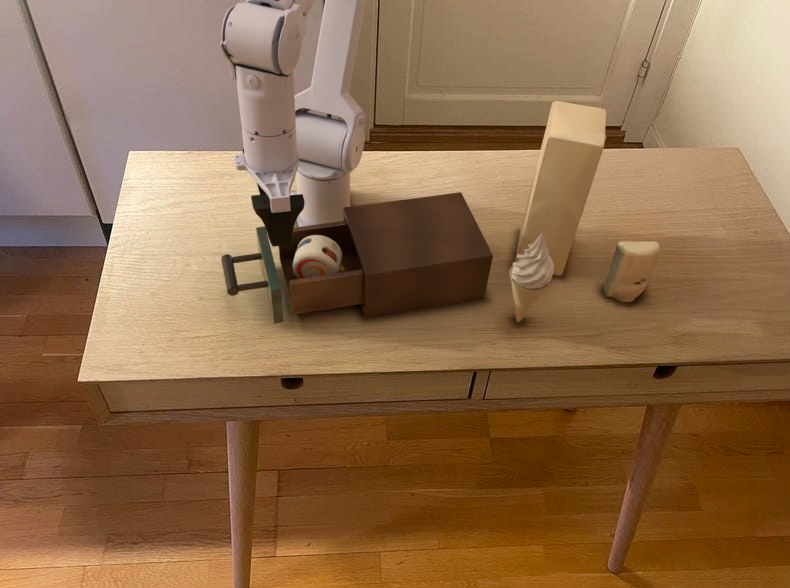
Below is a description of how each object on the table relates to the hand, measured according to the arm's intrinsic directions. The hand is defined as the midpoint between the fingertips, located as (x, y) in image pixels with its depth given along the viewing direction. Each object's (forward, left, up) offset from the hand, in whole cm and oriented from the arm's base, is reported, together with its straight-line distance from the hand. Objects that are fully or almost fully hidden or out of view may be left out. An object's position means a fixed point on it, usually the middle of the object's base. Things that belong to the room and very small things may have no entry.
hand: (276, 222), depth 90 cm
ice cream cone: (+13, +28, -11) cm, 33 cm away
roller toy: (+2, +5, -9) cm, 10 cm away
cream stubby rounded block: (+11, +44, -11) cm, 47 cm away
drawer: (+2, +3, -10) cm, 10 cm away
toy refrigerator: (+2, +36, -11) cm, 38 cm away
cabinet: (+2, +17, -10) cm, 20 cm away
